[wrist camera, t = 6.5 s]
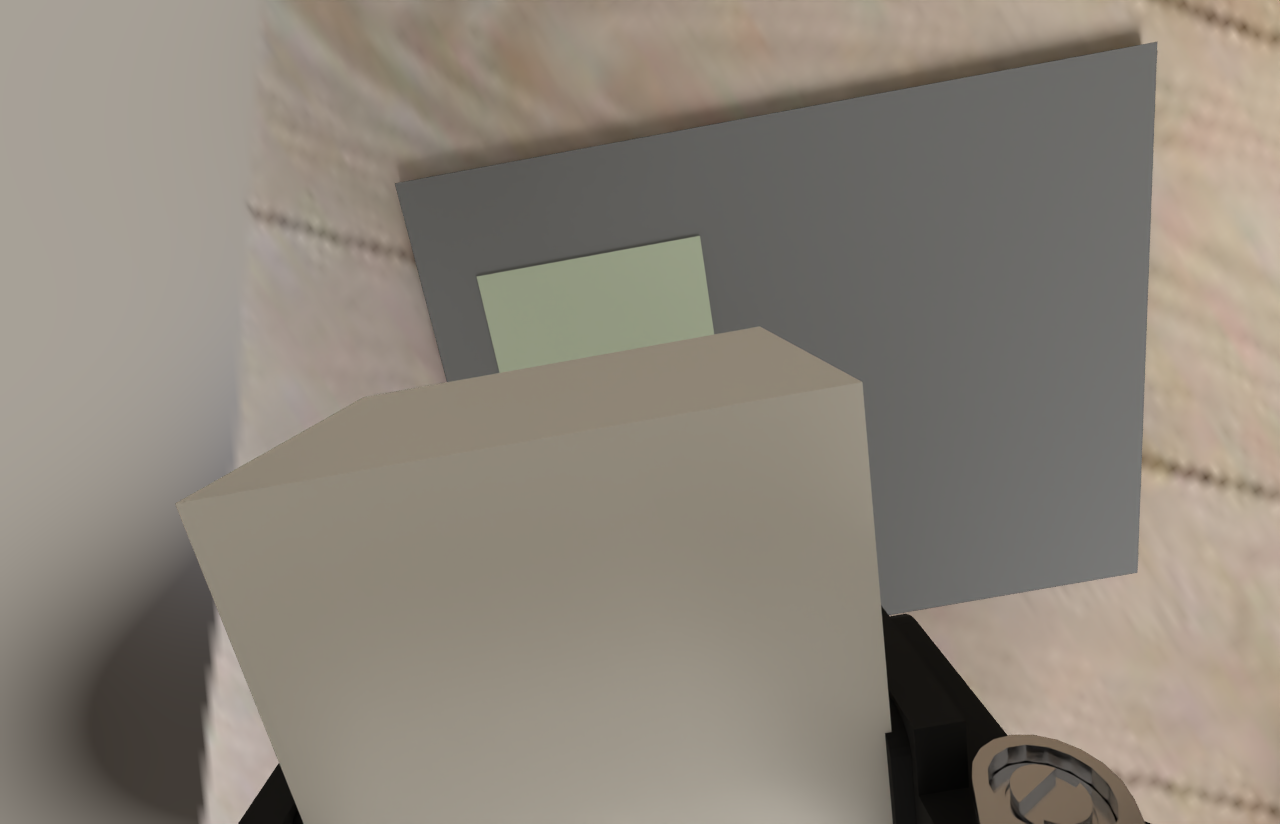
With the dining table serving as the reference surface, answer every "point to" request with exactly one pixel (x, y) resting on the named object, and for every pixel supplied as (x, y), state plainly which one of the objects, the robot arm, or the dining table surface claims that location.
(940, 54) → the dining table surface
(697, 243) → the mat
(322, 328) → the dining table surface
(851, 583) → the card box
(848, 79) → the dining table surface
